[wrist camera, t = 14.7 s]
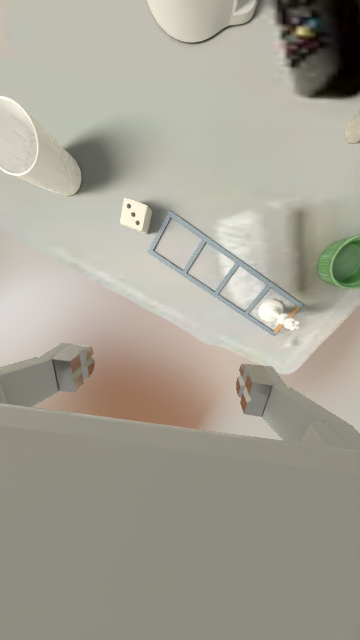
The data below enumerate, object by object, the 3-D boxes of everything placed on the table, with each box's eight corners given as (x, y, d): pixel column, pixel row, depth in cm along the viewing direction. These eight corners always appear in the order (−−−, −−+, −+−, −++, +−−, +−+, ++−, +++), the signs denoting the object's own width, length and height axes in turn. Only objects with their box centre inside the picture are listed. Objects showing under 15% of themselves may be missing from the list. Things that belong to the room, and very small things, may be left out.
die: (132, 204, 32) (124, 197, 28) (152, 211, 32) (147, 205, 28) (128, 227, 33) (119, 223, 30) (147, 234, 34) (141, 230, 30)
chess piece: (287, 307, 36) (320, 323, 27) (271, 325, 38) (297, 346, 28) (269, 294, 35) (296, 307, 26) (253, 313, 37) (274, 331, 28)
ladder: (169, 210, 32) (169, 210, 32) (302, 304, 36) (303, 305, 35) (147, 252, 34) (147, 252, 34) (273, 335, 38) (273, 336, 38)
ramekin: (351, 225, 31) (376, 219, 26) (373, 264, 32) (400, 265, 28) (304, 260, 33) (320, 260, 29) (327, 295, 35) (345, 299, 31)
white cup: (87, 200, 32) (44, 176, 23) (48, 199, 33) (-11, 174, 23) (81, 147, 30) (30, 95, 20) (39, 147, 30) (-32, 95, 21)
